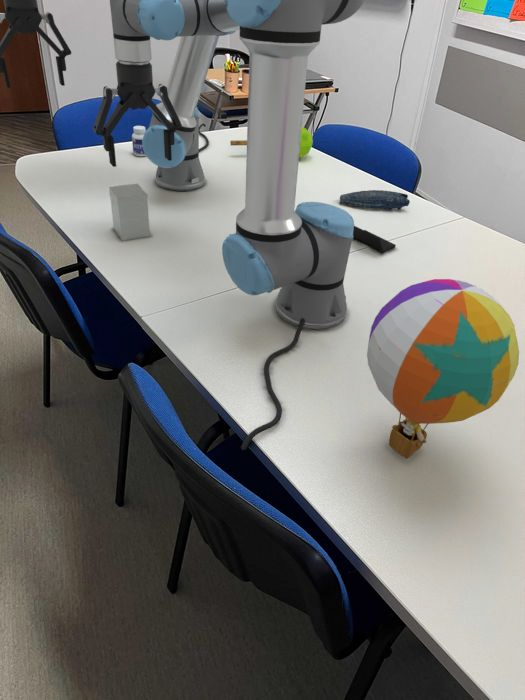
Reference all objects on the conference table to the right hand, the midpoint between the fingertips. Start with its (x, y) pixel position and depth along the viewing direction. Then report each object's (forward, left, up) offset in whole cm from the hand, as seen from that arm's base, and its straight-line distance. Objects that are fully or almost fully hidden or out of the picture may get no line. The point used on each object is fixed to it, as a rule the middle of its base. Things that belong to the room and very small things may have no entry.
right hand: (141, 161), depth 124 cm
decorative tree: (+71, -23, -19) cm, 76 cm away
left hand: (+22, +36, +9) cm, 43 cm away
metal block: (-1, +4, -19) cm, 19 cm away
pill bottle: (+57, +21, -19) cm, 63 cm away
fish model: (+38, -59, -19) cm, 73 cm away
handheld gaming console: (+11, -58, -19) cm, 62 cm away
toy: (-60, -63, -19) cm, 89 cm away
